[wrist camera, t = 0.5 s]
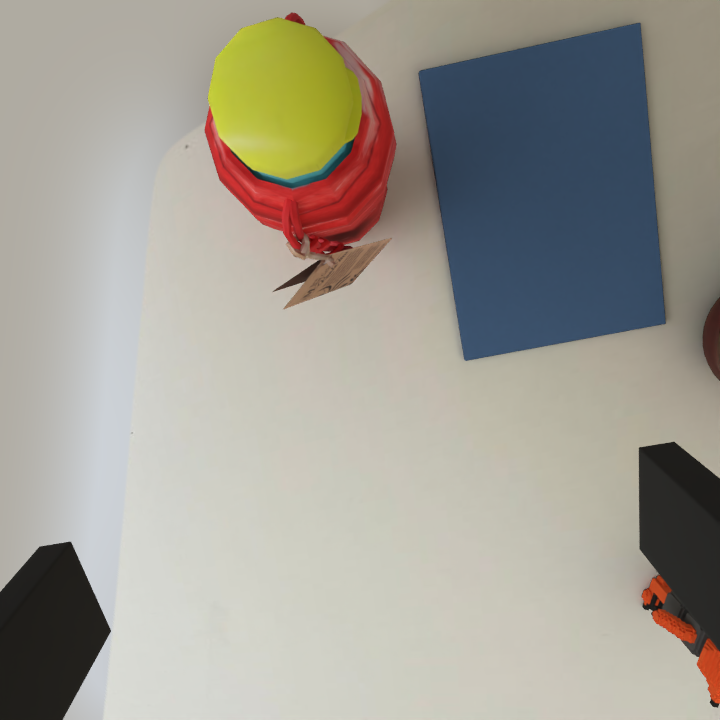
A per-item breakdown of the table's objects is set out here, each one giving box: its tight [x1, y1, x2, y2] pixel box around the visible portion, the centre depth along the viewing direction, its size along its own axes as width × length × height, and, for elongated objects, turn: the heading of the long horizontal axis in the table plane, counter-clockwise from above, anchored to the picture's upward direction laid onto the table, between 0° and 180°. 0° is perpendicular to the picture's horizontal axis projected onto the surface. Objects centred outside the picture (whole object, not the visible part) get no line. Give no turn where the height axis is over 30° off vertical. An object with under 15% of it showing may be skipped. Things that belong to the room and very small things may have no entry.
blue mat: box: [419, 23, 666, 361], centre depth 39 cm, size 22×16×1 cm
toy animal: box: [642, 575, 720, 708], centre depth 39 cm, size 8×6×12 cm
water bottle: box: [205, 13, 396, 309], centre depth 27 cm, size 12×8×25 cm, turn 0°
